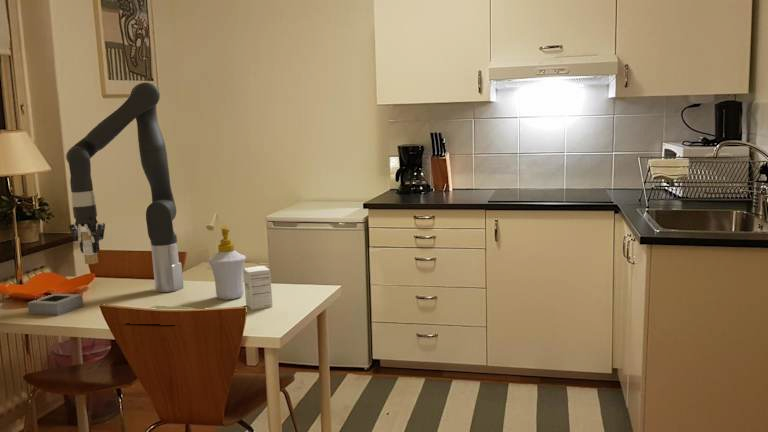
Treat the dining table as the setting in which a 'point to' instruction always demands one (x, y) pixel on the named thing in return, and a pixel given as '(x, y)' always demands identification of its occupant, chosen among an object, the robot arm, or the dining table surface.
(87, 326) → the dining table surface
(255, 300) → the supplement box
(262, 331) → the dining table surface
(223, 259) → the soap bottle
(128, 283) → the dining table surface
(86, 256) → the sprinkles bottle
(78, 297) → the shallow gray tray
